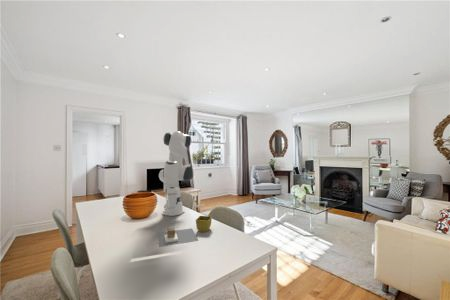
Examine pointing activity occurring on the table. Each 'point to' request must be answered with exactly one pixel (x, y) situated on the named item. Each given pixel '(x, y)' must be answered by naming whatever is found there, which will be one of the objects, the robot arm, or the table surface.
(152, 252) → the table surface
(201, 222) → the flower pot
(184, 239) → the board
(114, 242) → the table surface
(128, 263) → the table surface
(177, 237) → the tile
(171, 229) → the walnut block
